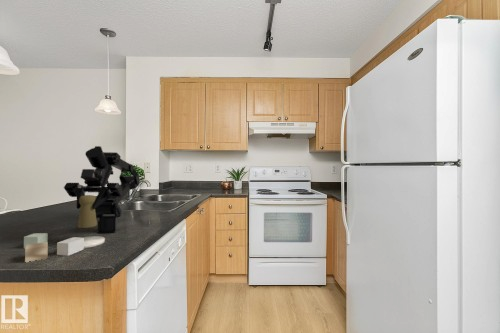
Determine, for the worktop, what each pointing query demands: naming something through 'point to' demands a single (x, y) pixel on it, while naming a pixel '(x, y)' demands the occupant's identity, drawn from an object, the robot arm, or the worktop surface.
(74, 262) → the worktop surface
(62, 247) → the grey block
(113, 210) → the robot arm
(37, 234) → the sage block
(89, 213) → the cork
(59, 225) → the worktop surface
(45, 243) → the beech block
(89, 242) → the cream plate
